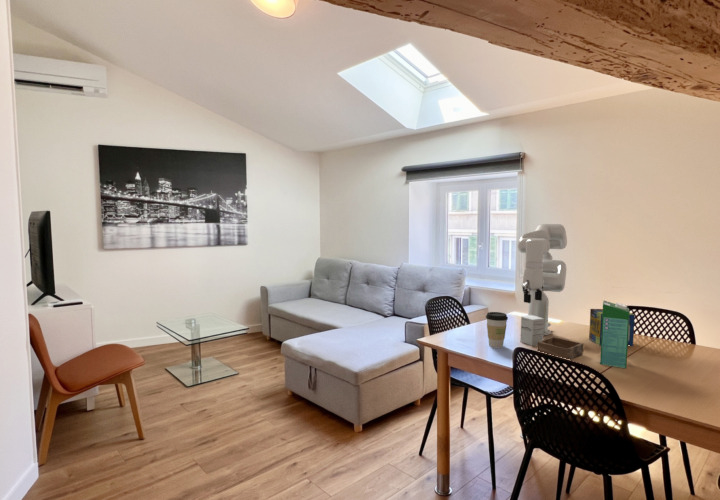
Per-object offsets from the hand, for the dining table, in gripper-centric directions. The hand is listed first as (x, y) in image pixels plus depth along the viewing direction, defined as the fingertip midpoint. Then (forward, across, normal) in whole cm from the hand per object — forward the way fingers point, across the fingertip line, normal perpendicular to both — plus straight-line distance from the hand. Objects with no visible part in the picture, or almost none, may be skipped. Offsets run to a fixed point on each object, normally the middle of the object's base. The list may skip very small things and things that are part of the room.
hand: (532, 301), depth 193 cm
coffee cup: (+20, +17, -8) cm, 28 cm away
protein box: (+20, -30, +23) cm, 43 cm away
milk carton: (+20, -1, +35) cm, 41 cm away
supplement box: (+20, 0, 0) cm, 20 cm away
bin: (+20, +5, +16) cm, 26 cm away
